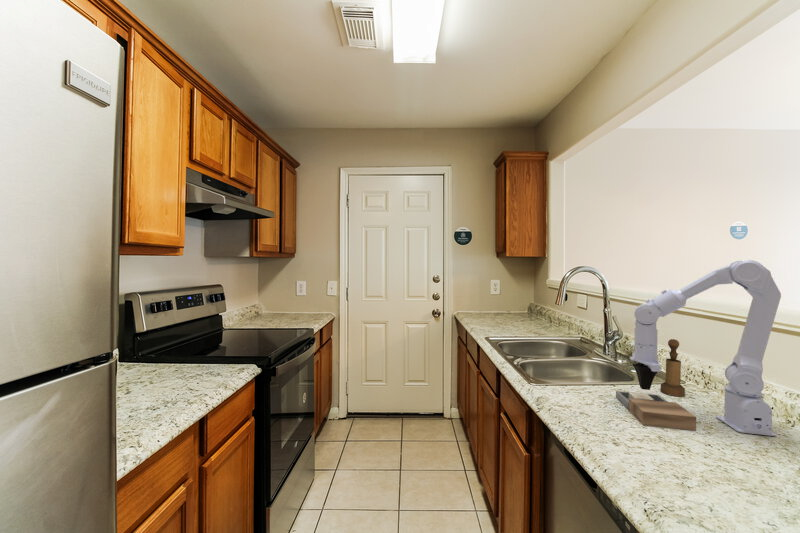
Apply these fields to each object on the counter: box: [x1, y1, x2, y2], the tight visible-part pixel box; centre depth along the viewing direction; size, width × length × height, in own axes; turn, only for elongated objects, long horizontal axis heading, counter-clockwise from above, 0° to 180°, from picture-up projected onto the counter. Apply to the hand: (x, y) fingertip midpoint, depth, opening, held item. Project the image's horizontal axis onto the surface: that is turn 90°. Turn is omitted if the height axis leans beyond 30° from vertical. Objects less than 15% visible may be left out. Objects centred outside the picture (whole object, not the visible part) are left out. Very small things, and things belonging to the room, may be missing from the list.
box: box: [615, 390, 669, 410], centre depth 108 cm, size 10×12×2 cm
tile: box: [628, 391, 654, 400], centre depth 109 cm, size 5×5×2 cm
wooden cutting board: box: [628, 398, 697, 431], centre depth 97 cm, size 10×12×4 cm
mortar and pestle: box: [660, 338, 686, 398], centre depth 118 cm, size 7×6×18 cm
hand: (645, 388), depth 107 cm, fingers closed
